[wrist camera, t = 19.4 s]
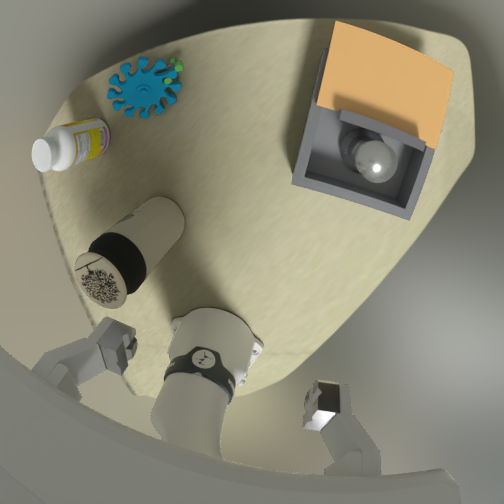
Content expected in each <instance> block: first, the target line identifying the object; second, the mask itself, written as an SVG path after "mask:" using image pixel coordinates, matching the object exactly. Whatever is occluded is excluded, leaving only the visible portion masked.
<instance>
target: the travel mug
mask: <svg viewBox="0 0 504 504" xmlns="http://www.w3.org/2000/svg"><path fill="white" fill-rule="evenodd" d="M184 228H185V220H184V216H183V213H182V211H181V209H180V208H179V207H178V206H177V204H176V203H174V202H173V201H172V200H170V199H168V198H165V197H153V198H151V199H149V200H147V201H146V202H145V203H143V204H142V205H140V206H139V207H138V208H136V209H135V210H134V211H132V212H131V213H129V214H128V215H127V216H125V217H124V218H123V219H121V220H120V221H119V222H118V223H116V224H115V225H114V226H112V227H111V228H110V229H108V230H107V231H106V232H105V233H103V234H102V235H101V236H100V237H98V238H97V239H96V240H95V241H93V242H92V244H91V245H90V247H89V251H88V252H86V253H83V254H81V255H80V256H79V257H78V258H77V260H76V263H75V274H76V278H77V281H78V283H79V285H80V287H81V288H82V290H83V291H84V292H85V294H86V295H87V296H88V297H89V298H90V299H91V300H93V301H94V302H95V303H97V304H99V305H101V306H103V307H105V308H110V309H115V308H119V307H121V306H122V305H123V304H124V303H125V301H126V297H127V295H128V294H132V293H134V292H135V291H136V290H137V289H138V288H139V287H140V285H141V284H142V283H143V282H144V280H145V279H146V278H147V277H148V275H149V274H150V273H151V272H152V270H153V269H154V268H155V267H156V265H157V264H158V263H159V262H160V261H161V259H162V258H163V257H164V256H165V254H166V253H167V252H168V251H169V250H170V248H171V247H172V246H173V245H174V244H175V242H176V241H177V240H178V239H179V238H180V237H181V235H182V234H183V231H184Z"/></svg>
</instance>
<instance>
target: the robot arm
mask: <svg viewBox="0 0 504 504" xmlns="http://www.w3.org/2000/svg"><path fill="white" fill-rule="evenodd" d="M171 325H172V329H173V333H174V336H173V338H172V341H171V343H170V346H169V348H168V352H167V353H168V354H169V358H170V360H171V362H170V364H169V366H168V367H167V369H166V372H165V376H164V384H163V386H162V388H161V391H160V393H159V395H158V397H157V399H156V402H155V404H154V406H153V408H152V411H151V422H152V424H153V426H154V428H155V429H156V431H157V432H158V433H159V434H160V435H161V438H162V440H159V439H156V438H154V437H151V436H149V435H146V434H144V433H142V432H139V431H137V430H135V429H132V428H130V427H128V426H125V425H123V424H121V423H119V422H117V421H115V420H113V419H111V418H109V417H107V416H105V415H103V414H101V413H99V412H97V411H95V410H93V409H91V408H89V407H88V406H86V405H84V404H82V403H81V402H79V401H80V400H81V398H82V396H81V393H80V391H79V389H78V387H77V386H79V385H80V384H82V383H84V382H86V381H88V380H89V379H91V378H93V377H95V376H97V375H98V374H100V373H102V372H104V371H106V369H108V370H110V371H112V372H114V373H117V374H119V375H121V376H122V375H123V373H124V372H125V370H126V368H127V367H128V360H130V359H132V358H133V357H134V355H135V353H136V350H137V344H138V343H137V339H136V338H135V337H134V336H135V335H136V329H135V328H133V327H130V326H128V325H126V324H123V323H121V322H119V321H116V320H114V319H112V318H110V317H105V318H103V320H102V321H101V322H100V323H99V324H98V326H97V327H96V328H95V329H94V331H93V332H92V333H91V334H90V336H89V337H88V338H83V339H80V340H77V341H75V342H72V343H69V344H67V345H64V346H62V347H59V348H56V349H54V350H51V351H48V352H46V353H45V354H44V355H43V356H42V357H41V359H40V360H39V361H38V362H37V364H36V365H35V366H34V367H33V369H32V370H30V369H29V368H27V367H26V366H24V365H23V364H22V363H21V362H19V361H18V360H17V359H15V358H14V357H13V356H12V355H11V354H9V353H8V352H7V351H6V350H5V349H3V348H2V347H1V346H0V504H461V493H460V488H459V485H458V484H457V482H456V481H455V480H454V479H453V478H452V476H451V475H450V474H449V473H448V472H447V471H446V470H445V469H442V468H440V469H439V468H438V469H432V470H425V471H418V472H410V473H402V474H389V475H381V456H380V450H379V449H378V447H377V446H376V445H375V443H374V442H373V440H372V439H371V438H370V436H369V435H368V433H367V432H366V431H365V429H364V428H363V426H362V425H361V424H360V422H359V421H358V420H357V418H356V417H355V415H352V410H351V396H350V386H349V384H342V383H337V382H331V381H324V380H315V382H314V383H313V388H311V389H309V391H308V392H307V395H306V397H305V402H304V408H305V410H306V413H305V415H304V416H303V427H302V428H304V429H310V430H316V431H320V433H321V435H322V437H323V439H324V441H325V443H326V445H327V447H328V449H329V451H330V453H331V455H332V457H333V459H334V461H335V462H334V463H333V464H331V465H330V466H328V467H327V468H325V469H324V475H317V474H305V473H295V472H286V471H280V470H273V469H266V468H260V467H255V466H250V465H245V464H240V463H235V462H231V461H227V460H224V459H223V456H222V452H221V442H220V440H221V432H222V427H223V422H224V417H225V413H226V409H227V405H228V404H229V403H230V402H231V400H232V398H233V395H234V392H235V386H236V385H239V386H243V384H244V382H245V379H246V378H247V372H248V369H249V368H250V366H251V365H252V364H253V362H254V361H255V360H256V358H257V357H258V356H259V354H260V353H261V352H262V350H263V347H264V345H263V344H262V342H260V341H259V340H258V339H257V338H255V337H254V336H253V334H252V332H251V330H250V329H249V327H248V326H247V325H246V324H245V323H244V322H243V321H242V320H241V319H240V318H238V317H237V316H235V315H233V314H231V313H229V312H226V311H224V310H220V309H215V308H200V309H196V310H193V311H191V312H190V313H189V314H187V315H186V316H184V317H180V318H175V319H173V321H172V324H171Z"/></svg>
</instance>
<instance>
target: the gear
mask: <svg viewBox="0 0 504 504" xmlns="http://www.w3.org/2000/svg"><path fill="white" fill-rule="evenodd" d="M148 60H149V59H148V58H146V57H140V58H139V59H138V69H137V71H136V72H135V73H134V74H130V73H129V71H130V68H131V64H130V63H125V64H122V65H121V67H120V71H121V72H122V73H123V74H124V75H125V77H126V81H125V82H121V81H120V80H119V76H118V75H117V74H114V75H113V76H112V77H111V78H110V79H109V84H111V85H116V86H118V87H119V88H120V89H121V90H122V91H121V92H117V91H116V90H115V89H114V88H109V90H108V94H107V98H108V99H112V98H123V99H125V101H119V100H115V101H114V102H113V108H114V110H115V111H118V110H119V109H120V108H122V107H124V106H127V105H133V107H130V108H126V109H125V112H124V115H125V116H127V117H129V118H130V117H132V116H133V113H134V112H135V111H136V110H137V109H138V108H140V107H145V108H144V109H143V110H141V111H140V117H141V118H148V117H149V111H148V110H149V108H150V106H151V105H152V104H156V105H157V106H156V107H155V113H156V114H160V113H163V112H164V106H163V105H162V104H161V102H160V98H162V97H166V98H167V103H168V104H169V105H171V104H173V103H174V102H175V101H176V96H175V95H173V94H169V93H168V92H167V91H166V90H165V88H167V87H170V88H171V89H172V90H173V91H174V92H178V91H179V90H180V87H181V82H179V81H176V82H172V79H175V78H177V73H178V72H180V71H182V70H183V63H182V62H181V61H177V62H175V58H171V59H170V64H168V65H166V62H165V61H164V60H162V59H161V58H160V59H158V60H157V61H156V63H155V65H154V66H153V67H152V68H150V69H148V70H142V68H143V67H145V66H147V64H148ZM155 70H156V71H155ZM163 79H164V80H163Z"/></svg>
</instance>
